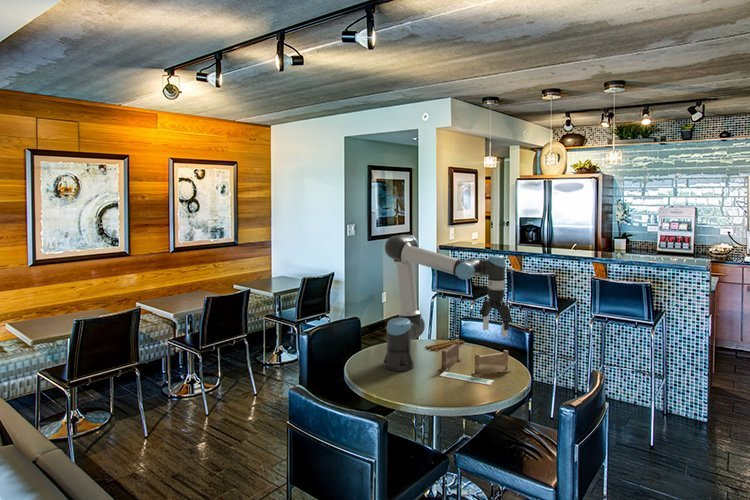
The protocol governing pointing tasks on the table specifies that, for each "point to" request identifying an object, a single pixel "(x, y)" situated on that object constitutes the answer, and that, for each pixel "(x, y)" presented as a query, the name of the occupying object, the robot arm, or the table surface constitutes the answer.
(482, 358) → the oak fence segment
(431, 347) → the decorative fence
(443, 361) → the walnut fence panel
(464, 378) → the strip
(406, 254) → the robot arm
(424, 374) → the table surface
